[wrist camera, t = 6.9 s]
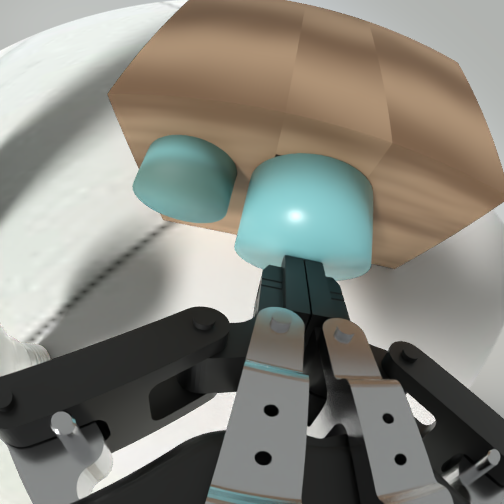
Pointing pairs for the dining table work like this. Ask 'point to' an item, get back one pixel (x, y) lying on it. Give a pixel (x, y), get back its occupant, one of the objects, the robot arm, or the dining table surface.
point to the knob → (308, 215)
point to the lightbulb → (19, 354)
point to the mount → (305, 118)
